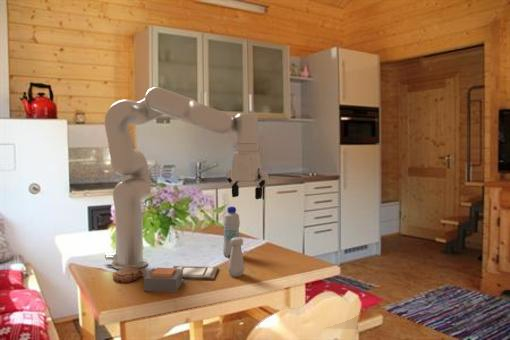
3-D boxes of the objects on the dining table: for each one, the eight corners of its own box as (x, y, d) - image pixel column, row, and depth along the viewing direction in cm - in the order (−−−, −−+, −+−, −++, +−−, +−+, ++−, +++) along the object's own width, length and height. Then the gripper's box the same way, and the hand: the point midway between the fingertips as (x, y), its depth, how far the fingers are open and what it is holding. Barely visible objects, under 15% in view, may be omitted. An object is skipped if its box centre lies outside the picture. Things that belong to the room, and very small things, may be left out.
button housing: (143, 291, 134) (143, 278, 133) (152, 280, 144) (152, 268, 143) (176, 292, 133) (176, 279, 133) (182, 281, 143) (182, 269, 143)
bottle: (242, 255, 176) (243, 206, 174) (232, 259, 170) (233, 208, 168) (229, 252, 179) (229, 204, 178) (219, 256, 174) (219, 206, 172)
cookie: (110, 284, 140) (110, 275, 139) (113, 274, 150) (113, 266, 150) (142, 282, 142) (142, 273, 142) (143, 272, 152) (143, 264, 152)
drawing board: (166, 278, 145) (166, 275, 145) (174, 267, 157) (174, 265, 157) (213, 280, 145) (213, 277, 145) (218, 269, 157) (218, 266, 157)
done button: (152, 282, 135) (152, 273, 135) (157, 276, 141) (157, 267, 141) (171, 283, 135) (171, 273, 135) (175, 277, 141) (175, 268, 141)
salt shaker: (242, 278, 147) (242, 240, 146) (225, 277, 148) (226, 239, 147) (246, 273, 153) (246, 236, 152) (230, 271, 154) (230, 235, 153)
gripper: (220, 148, 153) (220, 197, 154) (262, 149, 143) (262, 201, 145) (232, 148, 159) (232, 194, 160) (273, 149, 150) (273, 198, 151)
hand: (246, 197), depth 152 cm, fingers open, 9 cm apart
